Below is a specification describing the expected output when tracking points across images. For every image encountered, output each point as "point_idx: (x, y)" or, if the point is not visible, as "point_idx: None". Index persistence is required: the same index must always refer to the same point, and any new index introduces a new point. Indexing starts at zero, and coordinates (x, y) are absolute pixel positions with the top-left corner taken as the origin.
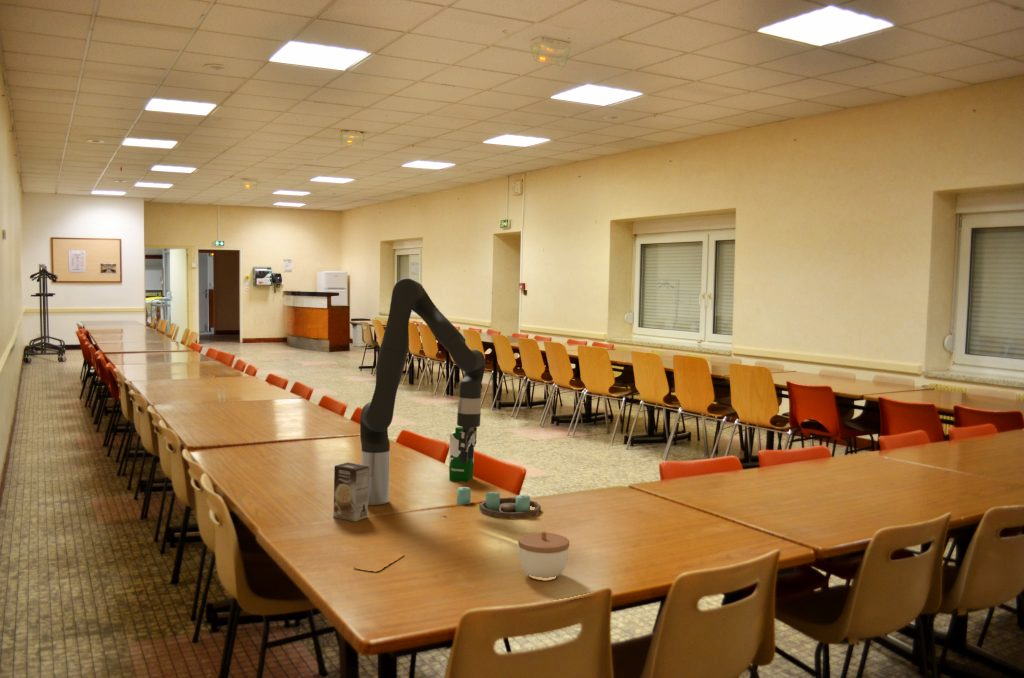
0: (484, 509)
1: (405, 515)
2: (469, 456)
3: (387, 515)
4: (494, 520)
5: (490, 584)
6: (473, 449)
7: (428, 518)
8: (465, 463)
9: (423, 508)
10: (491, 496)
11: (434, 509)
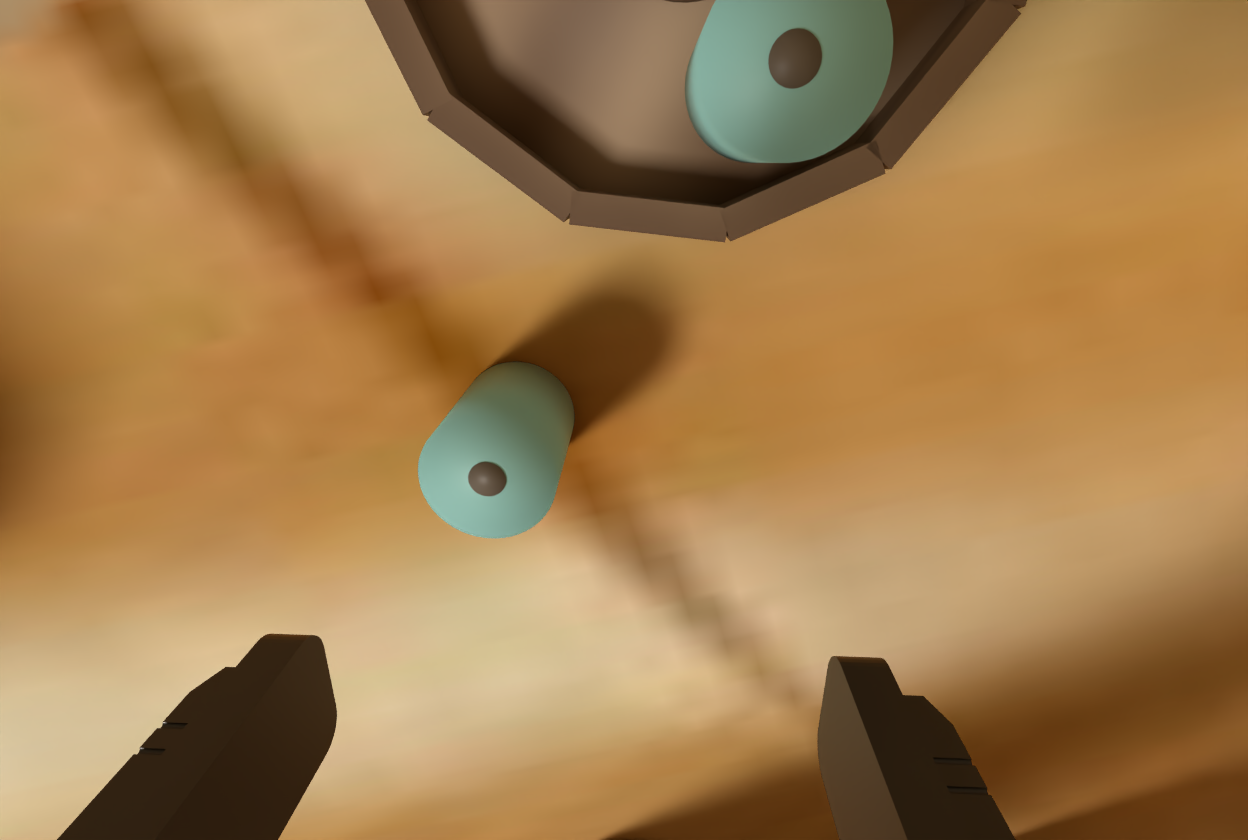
0: (909, 143)
1: None
2: (304, 721)
3: None
4: None
5: None
6: (158, 815)
7: (963, 561)
8: (872, 666)
9: (705, 646)
10: (887, 60)
11: (714, 579)
